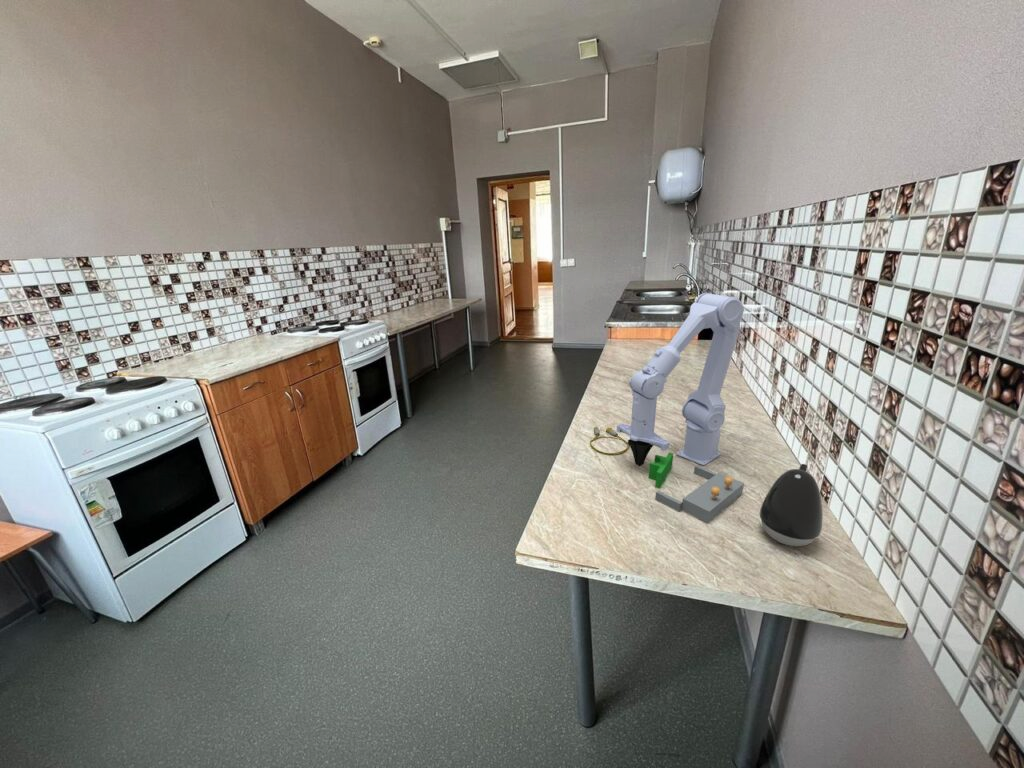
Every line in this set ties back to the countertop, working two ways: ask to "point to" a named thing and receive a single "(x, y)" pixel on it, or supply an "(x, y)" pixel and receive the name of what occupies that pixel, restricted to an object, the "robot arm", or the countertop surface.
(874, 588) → the countertop surface
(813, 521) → the black rounded dome
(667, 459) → the pipe clamp
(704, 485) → the pegged forked bracket
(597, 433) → the extension cord
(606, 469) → the countertop surface
